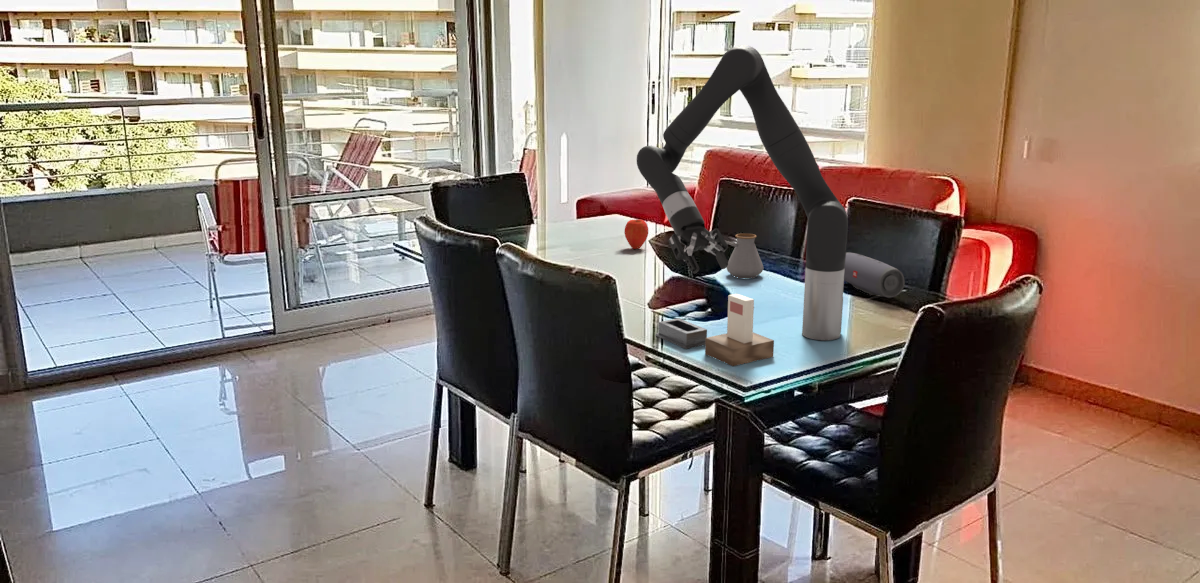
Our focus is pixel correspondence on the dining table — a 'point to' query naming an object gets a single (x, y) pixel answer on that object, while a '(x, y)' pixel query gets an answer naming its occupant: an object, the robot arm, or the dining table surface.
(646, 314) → the dining table surface
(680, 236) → the robot arm
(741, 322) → the white box
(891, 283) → the bluetooth speaker
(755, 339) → the brown wooden block
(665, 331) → the grey box
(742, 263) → the coffee pot
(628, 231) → the apple
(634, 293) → the dining table surface
